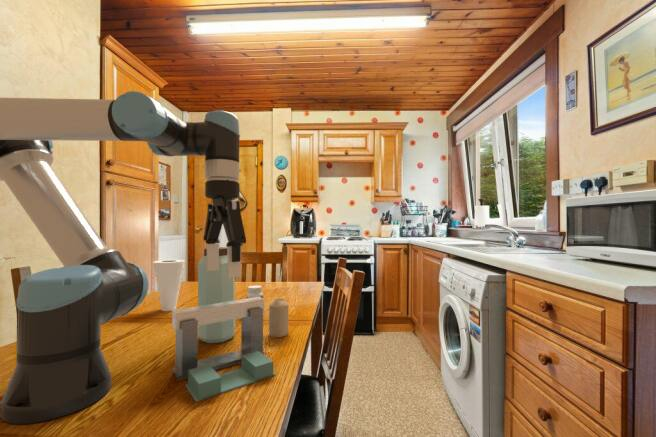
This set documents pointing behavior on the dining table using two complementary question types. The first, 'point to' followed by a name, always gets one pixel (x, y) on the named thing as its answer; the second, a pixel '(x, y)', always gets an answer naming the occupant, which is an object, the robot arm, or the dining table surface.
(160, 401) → the dining table surface
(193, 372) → the rest
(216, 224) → the robot arm
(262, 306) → the rail
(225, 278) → the water bottle
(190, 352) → the stand
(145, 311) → the dining table surface
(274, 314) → the candle
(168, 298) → the cup
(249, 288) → the pill bottle
